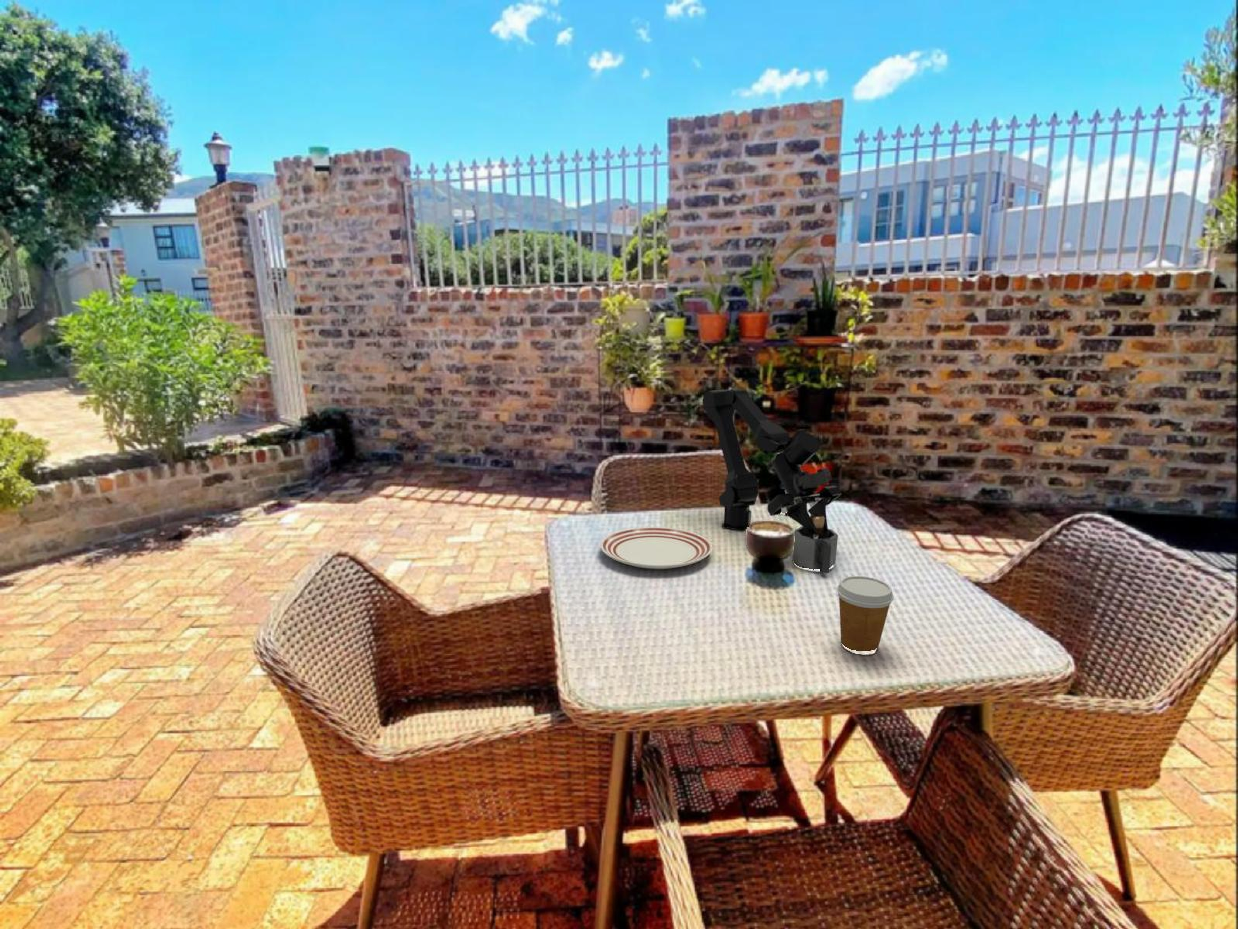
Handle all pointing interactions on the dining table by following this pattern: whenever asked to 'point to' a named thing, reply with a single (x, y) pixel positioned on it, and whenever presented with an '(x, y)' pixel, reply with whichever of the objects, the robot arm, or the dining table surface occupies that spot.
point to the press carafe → (815, 549)
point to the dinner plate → (656, 547)
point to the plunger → (817, 524)
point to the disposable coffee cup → (863, 611)
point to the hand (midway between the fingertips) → (820, 532)
